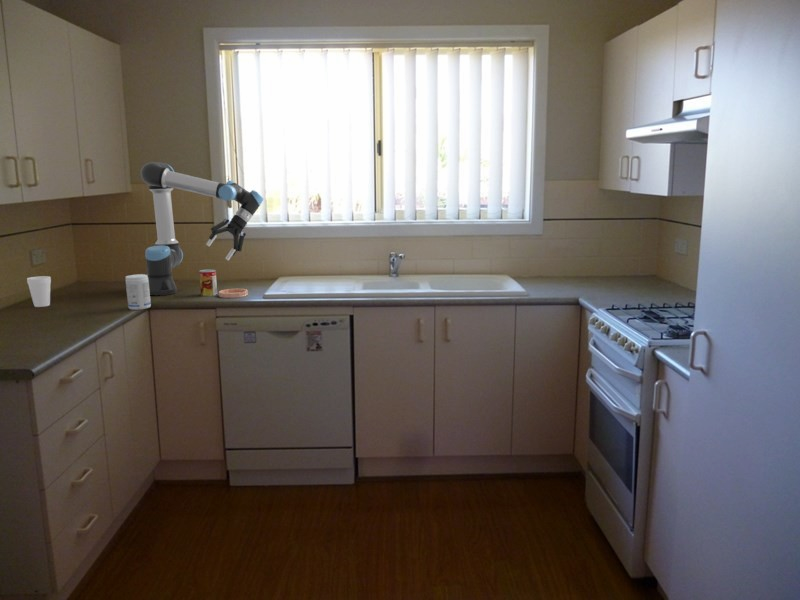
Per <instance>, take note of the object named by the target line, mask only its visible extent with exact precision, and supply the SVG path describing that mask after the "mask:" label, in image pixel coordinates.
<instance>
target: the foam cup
mask: <svg viewBox="0 0 800 600" xmlns="http://www.w3.org/2000/svg"><path fill="white" fill-rule="evenodd" d="M51 282H52V277H51V276H47V275H42V276H41V275H40V276H30V277H27V278H26V283H27V285H28V288H29V292H30V296H31V300H32V303H33V306H34V307H35V308H41V307H43V308H44V307H48V306H51Z"/></svg>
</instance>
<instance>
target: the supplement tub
mask: <svg viewBox="0 0 800 600" xmlns="http://www.w3.org/2000/svg"><path fill="white" fill-rule="evenodd" d="M124 278H125V288H126V290H125V291H126V298H127V306H128V307H127V308H128V309H129V310H133V311H139V310H140V311H141V310H145V309H150V308H151V306H152V302H151V301H152V300H151V296H150V290H149V281H148V276H147V274H144V273H140V274H138V273H137V274H131V275H126V276H125V277H124Z"/></svg>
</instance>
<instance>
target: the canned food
mask: <svg viewBox="0 0 800 600" xmlns="http://www.w3.org/2000/svg"><path fill="white" fill-rule="evenodd" d="M198 273H199V274H198V275H199V286H200V288H199V290H200V295H201V296H202V295H203V297H212V295H213V296H216V294H217V295H218V287H217V285H218V284H217V270H216V269H211V268H210V269H209V268H208V269H201V270H199V271H198Z"/></svg>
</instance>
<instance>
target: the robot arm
mask: <svg viewBox="0 0 800 600" xmlns="http://www.w3.org/2000/svg"><path fill="white" fill-rule="evenodd" d="M140 177H141V179H142V182H144V183H145V184H147V185H148V190H149V191H150V192H151V193H152V198H153V208H154V216H155V217H154V218H155V225H156V233H157V234H156V235H157V237H156V238H157V240H156V241H155V243H154V245H153V246H148V247H147V248H146V249H145V252H144V253H145V263H146V275H147V276H148V281H149V290H150V295H156V297H157V295H160V296H168V295H169V296H170V295H173V293H174V294H177V293H178V287H177V285H176V283H175V281H174V279H173V271H172V270H173V269H174V268H176V267H178V266H180V264H181V262H182V261H183V257H184V253H183V250H182V249H181V247H180V243H179V241H178V240H177V239H176V232H175V223H174V214H173V204H172V194H171V193H172V191H173V190H174V189H178V190H182V191H186V192H190V193H191V192H192V193H196V194H200V195H202V196H207V197H212V198H215V199H220V200H222V201H224V202H225V201H226V202H231V201H235V202H237V203H238V204H239V205H240V207H239V208H238V209H237V211H236V212H235V214H234V215H233V216H232V217H231V218H230V219H231V220H230V219H228V218H224V219H223V221H221V222H219V223H217V224H216V225H215V226H212V227H211V228H210V230H211V234H210V235H209V238H208V241H207V242H206V243H205V245H206V246H208V247H211V245H212V243H213V242H214V241H215V239H216V238H217V236H218V234H222V233H226V232H228V233H230V234H231V235H232V236H233V247H232V248H231V249H230V250H229V252H228V253H227V255H226V256H225V260H227V261H230V259H231V258H232V257H233V256H235V254H236V253H237V252H242V248H243V244H244V240H245V236H246V232H243V229H245V228H246V226H247V224H248V222H250V221H251V218H253V216H254V214H255V213H256V212H257V211H258V209H259V207H260V206H261V204H262V202H263V201H264V196H263V195H262V194H261V193H259V192H258V191H256V190H254V189H253V190H251V191H248V190H246V189H245V188H243V187H242V186H240V185H239V184H238V183H237V182H234V181H233V180H228V181H227V182H226V183H222V182H219V181H215V180H209V179H205V178H201V177H196V176H192V175H189V174H186V173H185V174H184V173H181V172H177V171H176V172H175V170H174V168H173V167H172V166H171V165H169V164H167V163H165V162H163V161H158V162H155V161H151V162H147V163H145V164H144V165H143V166H142V167H141V169H140ZM224 226H225V227H224Z"/></svg>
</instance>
